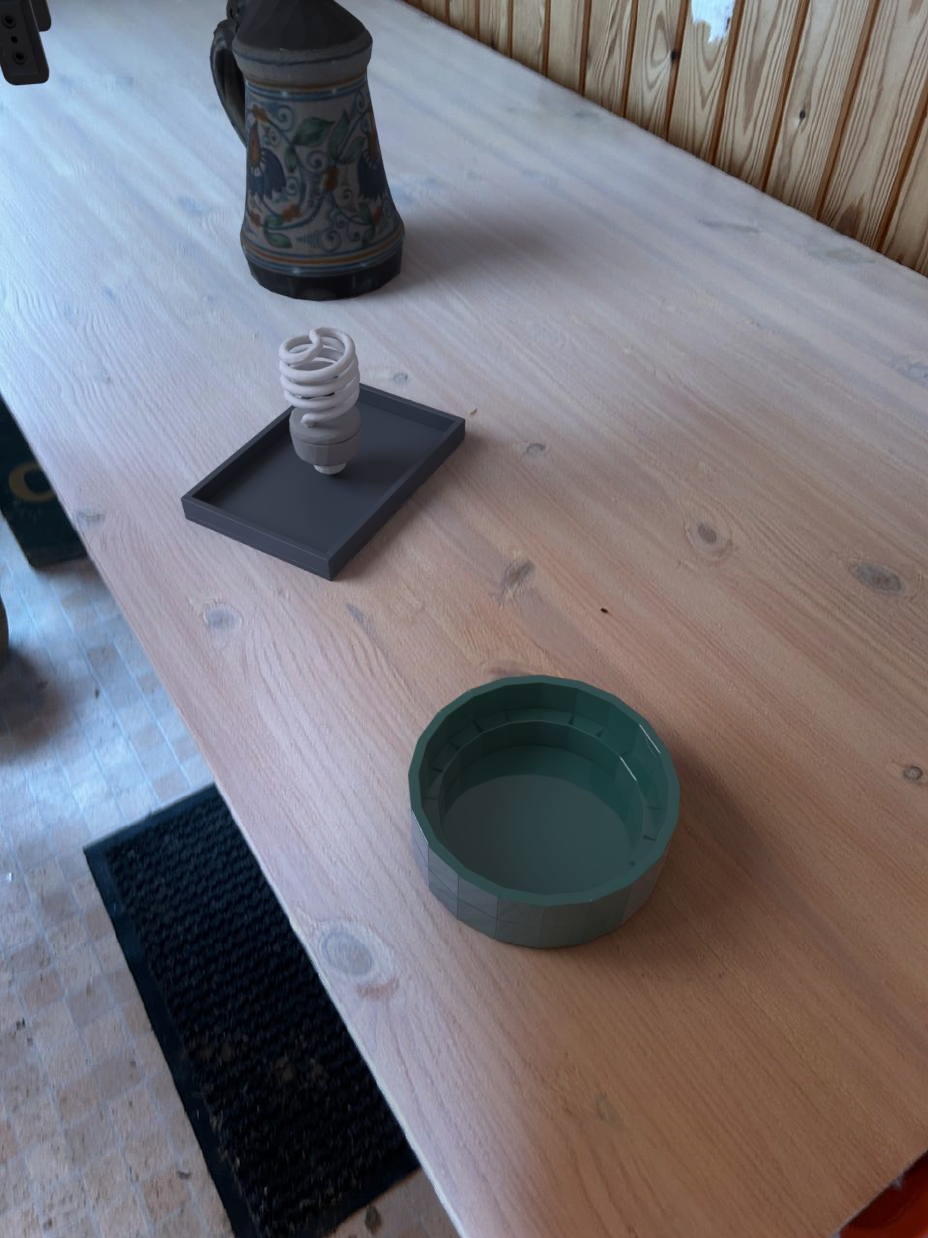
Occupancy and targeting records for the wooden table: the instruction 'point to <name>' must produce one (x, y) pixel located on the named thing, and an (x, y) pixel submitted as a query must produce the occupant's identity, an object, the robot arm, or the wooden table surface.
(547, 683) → the bowl
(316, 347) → the light bulb
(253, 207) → the beer stein
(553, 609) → the wooden table surface
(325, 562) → the tray
